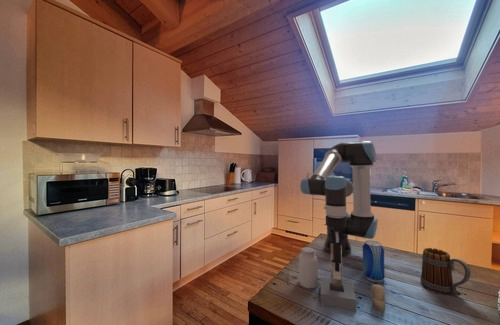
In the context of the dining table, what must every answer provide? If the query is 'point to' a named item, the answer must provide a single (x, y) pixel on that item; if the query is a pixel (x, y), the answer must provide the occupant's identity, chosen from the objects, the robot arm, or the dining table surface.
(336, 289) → the socket block
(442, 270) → the mug
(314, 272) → the pill bottle
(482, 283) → the dining table surface
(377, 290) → the short dowel
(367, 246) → the beer can
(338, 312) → the dining table surface
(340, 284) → the tall dowel
